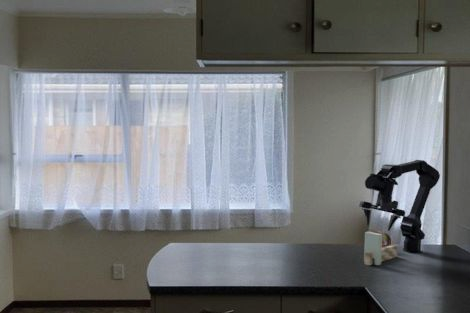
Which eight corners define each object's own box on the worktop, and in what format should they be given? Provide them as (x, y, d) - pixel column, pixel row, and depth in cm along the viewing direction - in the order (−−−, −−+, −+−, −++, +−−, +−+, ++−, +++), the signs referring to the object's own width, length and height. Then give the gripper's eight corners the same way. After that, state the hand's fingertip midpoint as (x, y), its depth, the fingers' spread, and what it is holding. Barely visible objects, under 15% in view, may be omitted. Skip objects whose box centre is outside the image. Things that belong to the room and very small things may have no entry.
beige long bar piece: (392, 255, 220) (393, 244, 219) (397, 256, 218) (397, 245, 218) (364, 264, 205) (365, 252, 205) (369, 265, 204) (369, 253, 203)
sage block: (367, 260, 210) (368, 231, 210) (381, 264, 206) (382, 234, 205) (363, 261, 209) (365, 232, 208) (377, 265, 204) (378, 235, 203)
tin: (364, 245, 238) (365, 228, 238) (369, 245, 239) (370, 227, 239) (386, 253, 225) (387, 234, 224) (391, 252, 226) (392, 234, 225)
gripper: (368, 188, 211) (360, 225, 210) (412, 198, 210) (404, 235, 209) (362, 188, 222) (355, 223, 221) (404, 197, 221) (397, 232, 220)
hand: (377, 228), depth 218 cm, fingers open, 9 cm apart
